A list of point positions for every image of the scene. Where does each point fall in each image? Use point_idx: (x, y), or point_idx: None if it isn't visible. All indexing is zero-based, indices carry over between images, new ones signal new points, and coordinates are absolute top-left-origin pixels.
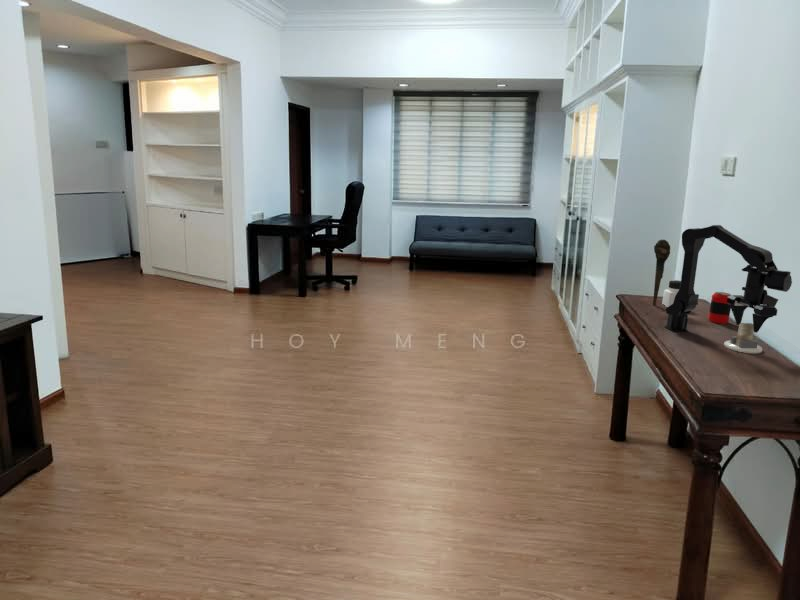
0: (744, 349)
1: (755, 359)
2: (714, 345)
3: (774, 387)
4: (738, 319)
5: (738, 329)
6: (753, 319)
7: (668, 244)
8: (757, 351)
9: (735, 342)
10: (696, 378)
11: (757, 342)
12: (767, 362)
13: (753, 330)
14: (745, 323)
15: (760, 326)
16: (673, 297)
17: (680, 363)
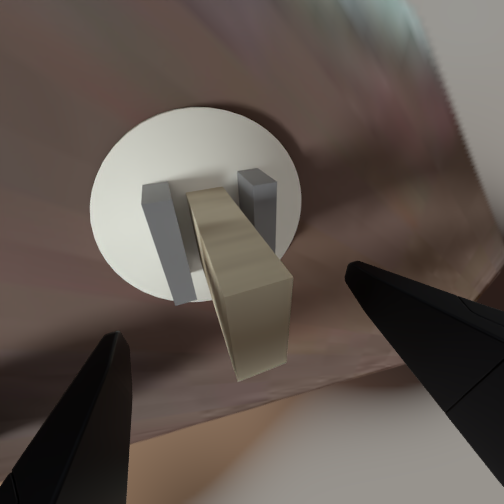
0: (278, 247)
1: (351, 232)
2: (188, 323)
3: (474, 269)
4: (120, 410)
5: (222, 331)
6: (447, 402)
7: None
8: (298, 189)
9: (188, 263)
10: (391, 362)
11: (273, 181)
12: (385, 202)
13: (264, 244)
14: (242, 347)
15: (421, 291)
16: None
17: (333, 382)
